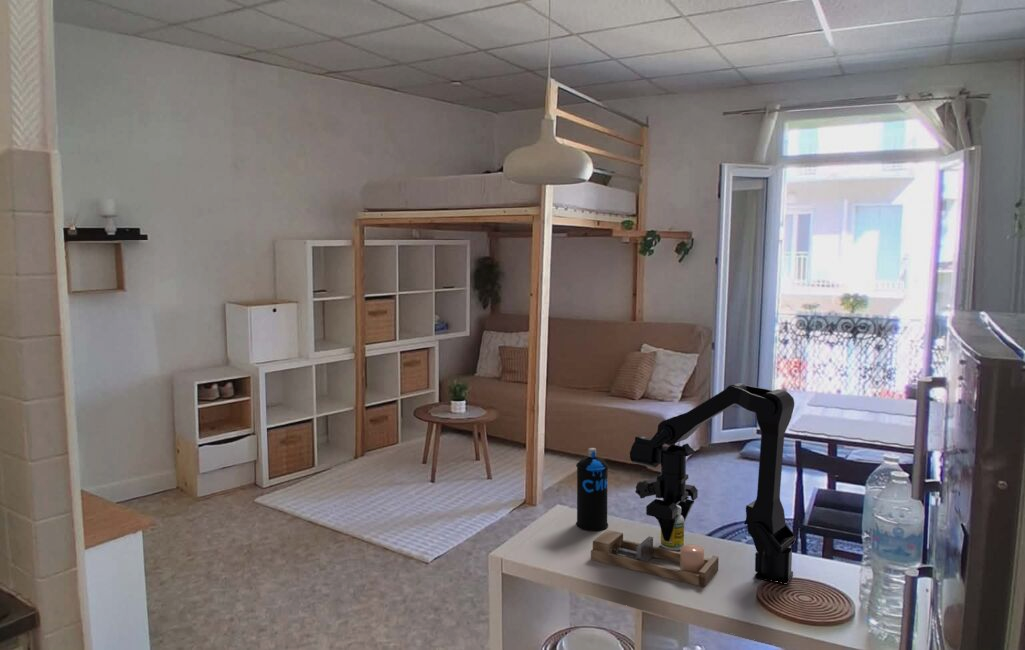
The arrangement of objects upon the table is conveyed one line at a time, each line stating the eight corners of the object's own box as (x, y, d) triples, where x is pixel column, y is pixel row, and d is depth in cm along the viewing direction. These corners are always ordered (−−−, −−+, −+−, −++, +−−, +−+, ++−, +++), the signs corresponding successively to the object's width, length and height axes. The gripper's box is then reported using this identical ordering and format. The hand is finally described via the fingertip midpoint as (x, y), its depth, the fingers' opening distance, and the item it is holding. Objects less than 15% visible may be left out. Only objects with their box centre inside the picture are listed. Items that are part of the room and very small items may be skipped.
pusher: (652, 556, 158) (653, 537, 157) (640, 567, 152) (640, 547, 151) (624, 549, 162) (624, 531, 161) (611, 560, 155) (611, 541, 155)
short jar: (707, 572, 150) (707, 547, 149) (699, 580, 146) (700, 555, 145) (684, 567, 153) (684, 542, 152) (676, 575, 148) (677, 550, 148)
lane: (718, 569, 151) (718, 552, 151) (704, 587, 143) (704, 568, 143) (608, 544, 165) (609, 528, 165) (590, 559, 157) (590, 541, 157)
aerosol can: (571, 521, 180) (571, 446, 179) (600, 518, 183) (600, 443, 181) (583, 533, 172) (583, 454, 171) (613, 529, 175) (614, 451, 173)
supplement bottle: (668, 540, 168) (669, 501, 167) (688, 546, 164) (688, 506, 163) (656, 546, 164) (656, 506, 163) (675, 552, 160) (676, 512, 159)
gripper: (655, 457, 175) (654, 517, 176) (625, 475, 159) (624, 541, 160) (698, 463, 169) (697, 526, 170) (671, 483, 153) (671, 552, 154)
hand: (672, 535), depth 164 cm, fingers open, 7 cm apart
